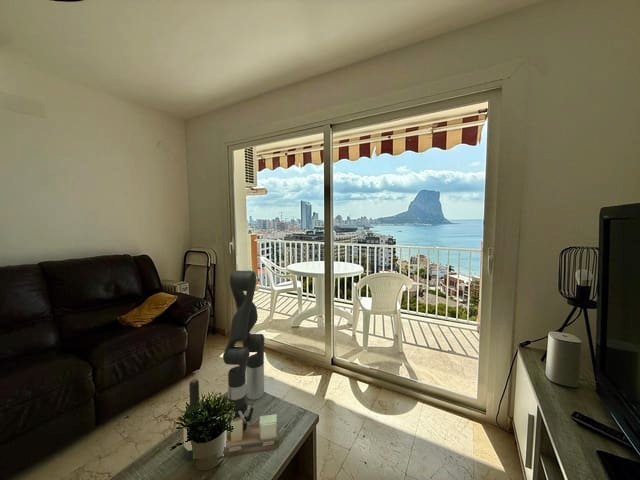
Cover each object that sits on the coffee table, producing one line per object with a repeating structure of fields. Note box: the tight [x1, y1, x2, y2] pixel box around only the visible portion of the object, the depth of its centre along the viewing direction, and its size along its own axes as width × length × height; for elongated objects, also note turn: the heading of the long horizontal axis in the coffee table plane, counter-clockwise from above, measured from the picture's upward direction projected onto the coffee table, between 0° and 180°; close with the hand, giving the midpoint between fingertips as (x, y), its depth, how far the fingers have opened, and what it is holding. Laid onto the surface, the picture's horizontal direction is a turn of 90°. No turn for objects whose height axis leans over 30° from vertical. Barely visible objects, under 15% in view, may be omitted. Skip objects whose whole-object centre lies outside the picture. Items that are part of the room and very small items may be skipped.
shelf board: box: [223, 423, 279, 458], centre depth 107 cm, size 12×24×4 cm, turn 101°
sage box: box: [259, 413, 278, 441], centre depth 106 cm, size 5×7×8 cm
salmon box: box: [231, 417, 243, 442], centre depth 108 cm, size 5×7×8 cm
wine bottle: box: [183, 378, 200, 462], centre depth 101 cm, size 8×8×30 cm
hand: (237, 430), depth 108 cm, fingers closed on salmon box, 4 cm apart
